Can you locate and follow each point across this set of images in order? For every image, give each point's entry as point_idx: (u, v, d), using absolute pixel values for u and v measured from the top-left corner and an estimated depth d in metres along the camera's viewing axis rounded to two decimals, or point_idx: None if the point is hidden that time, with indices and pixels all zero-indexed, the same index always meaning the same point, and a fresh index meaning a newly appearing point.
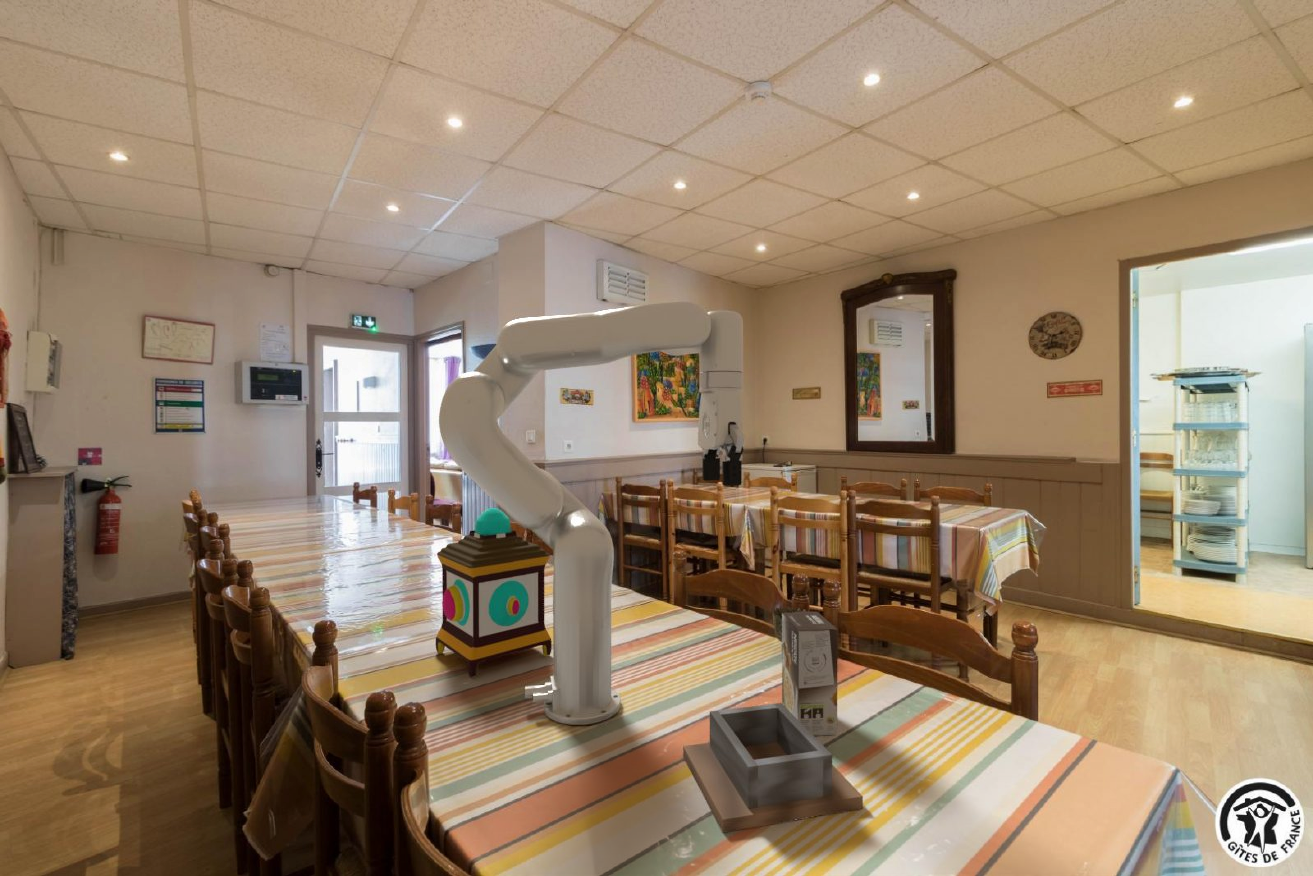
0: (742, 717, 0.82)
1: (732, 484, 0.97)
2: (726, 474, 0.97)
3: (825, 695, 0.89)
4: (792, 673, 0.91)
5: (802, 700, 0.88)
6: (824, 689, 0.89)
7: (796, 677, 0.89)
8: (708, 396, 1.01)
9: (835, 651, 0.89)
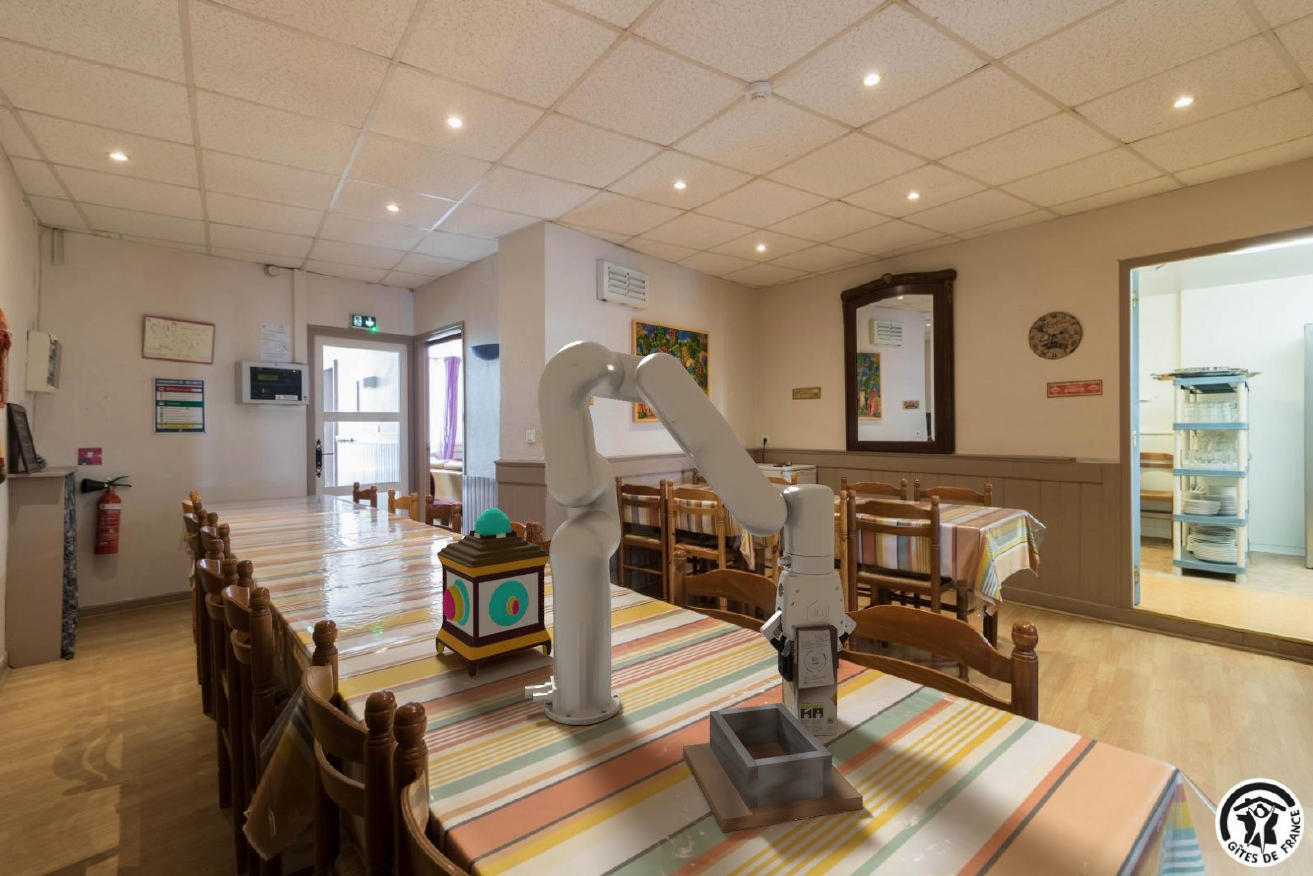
0: (742, 717, 0.82)
1: None
2: None
3: (825, 695, 0.89)
4: None
5: (802, 700, 0.88)
6: (824, 688, 0.89)
7: (797, 677, 0.89)
8: (822, 581, 0.90)
9: (835, 651, 0.89)
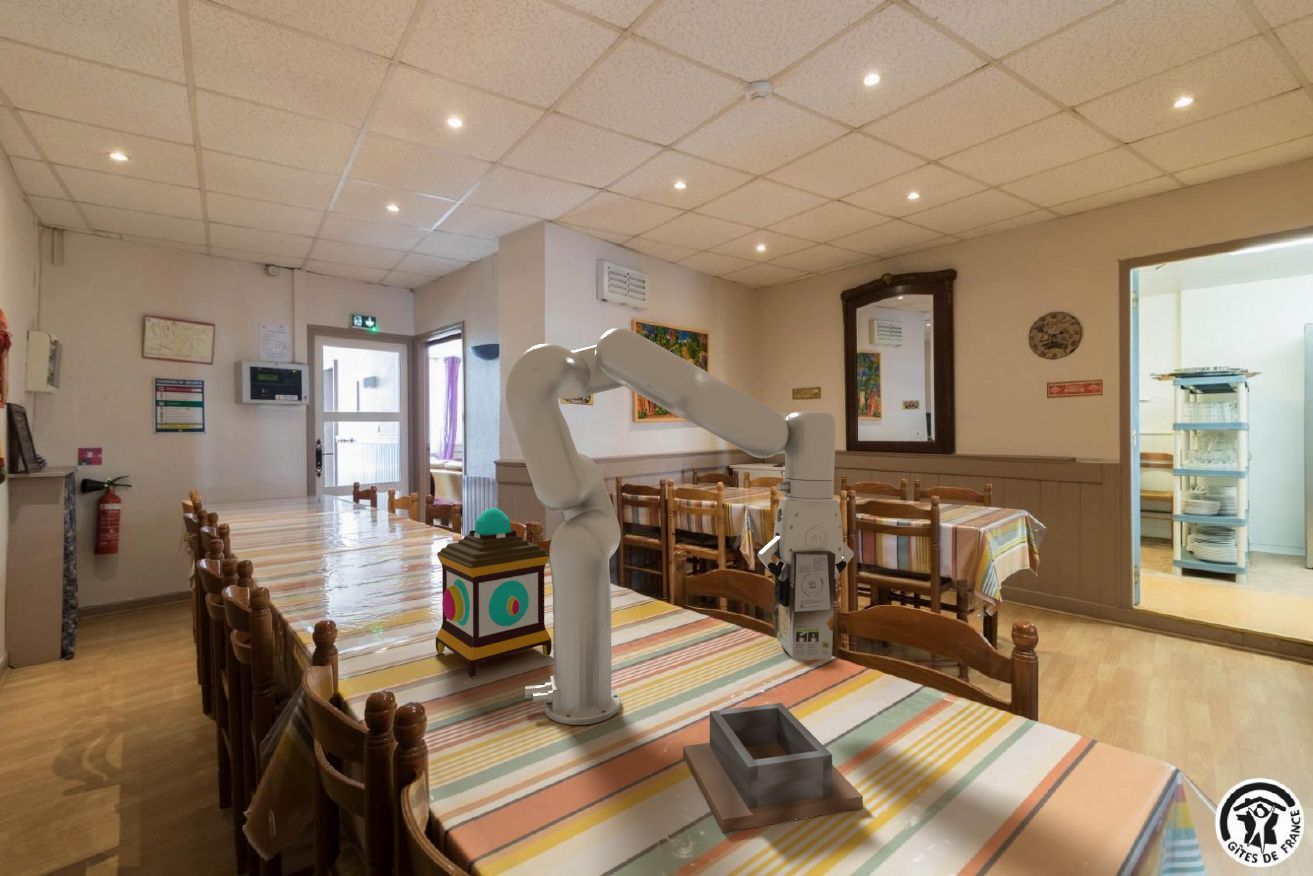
0: (742, 717, 0.82)
1: None
2: None
3: (821, 619, 0.88)
4: None
5: (798, 623, 0.88)
6: (820, 613, 0.88)
7: (793, 600, 0.89)
8: (821, 507, 0.90)
9: (832, 576, 0.89)
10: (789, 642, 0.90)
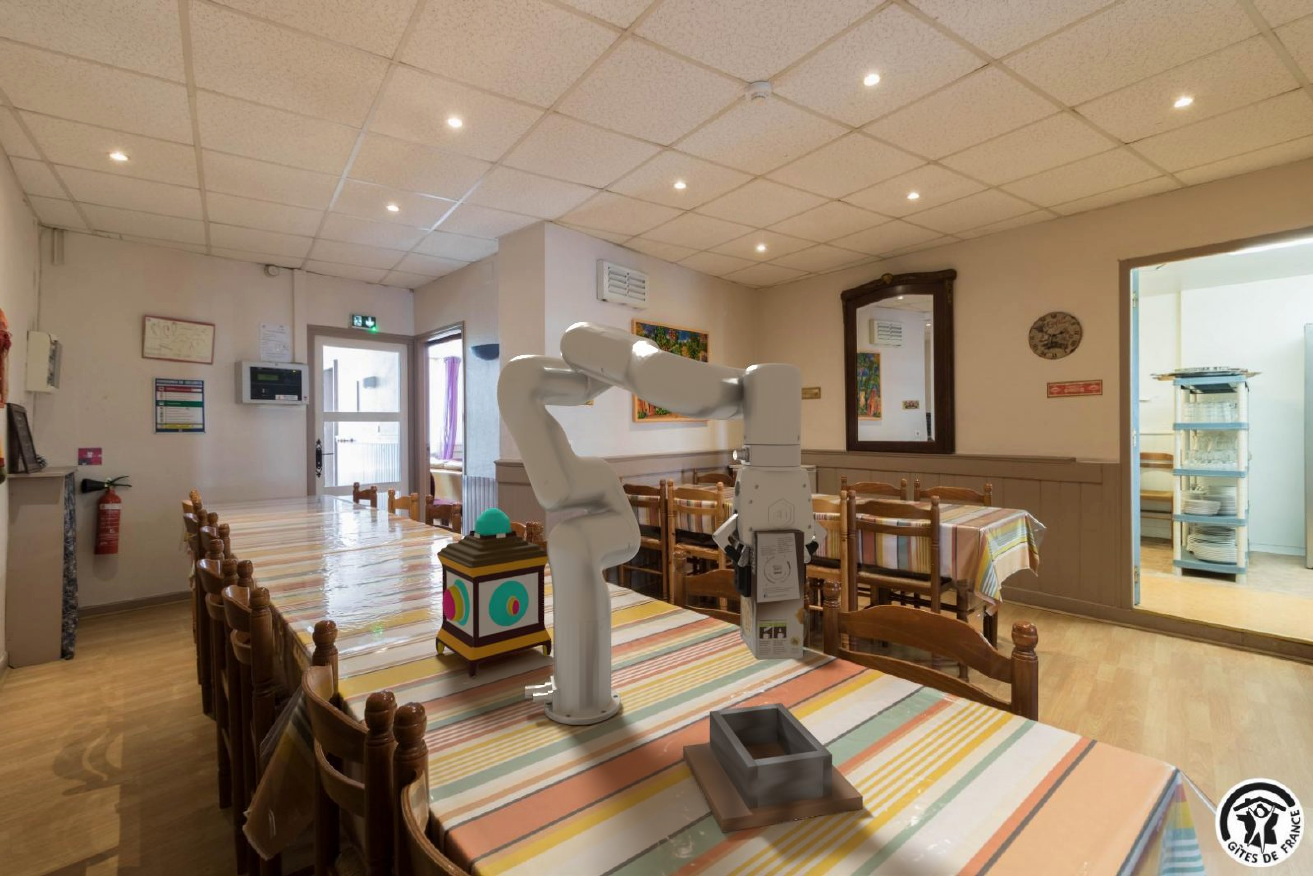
0: (742, 717, 0.82)
1: None
2: None
3: (789, 611, 0.74)
4: None
5: (762, 616, 0.73)
6: (787, 603, 0.74)
7: (755, 589, 0.74)
8: (786, 476, 0.75)
9: (801, 558, 0.74)
10: (752, 640, 0.75)
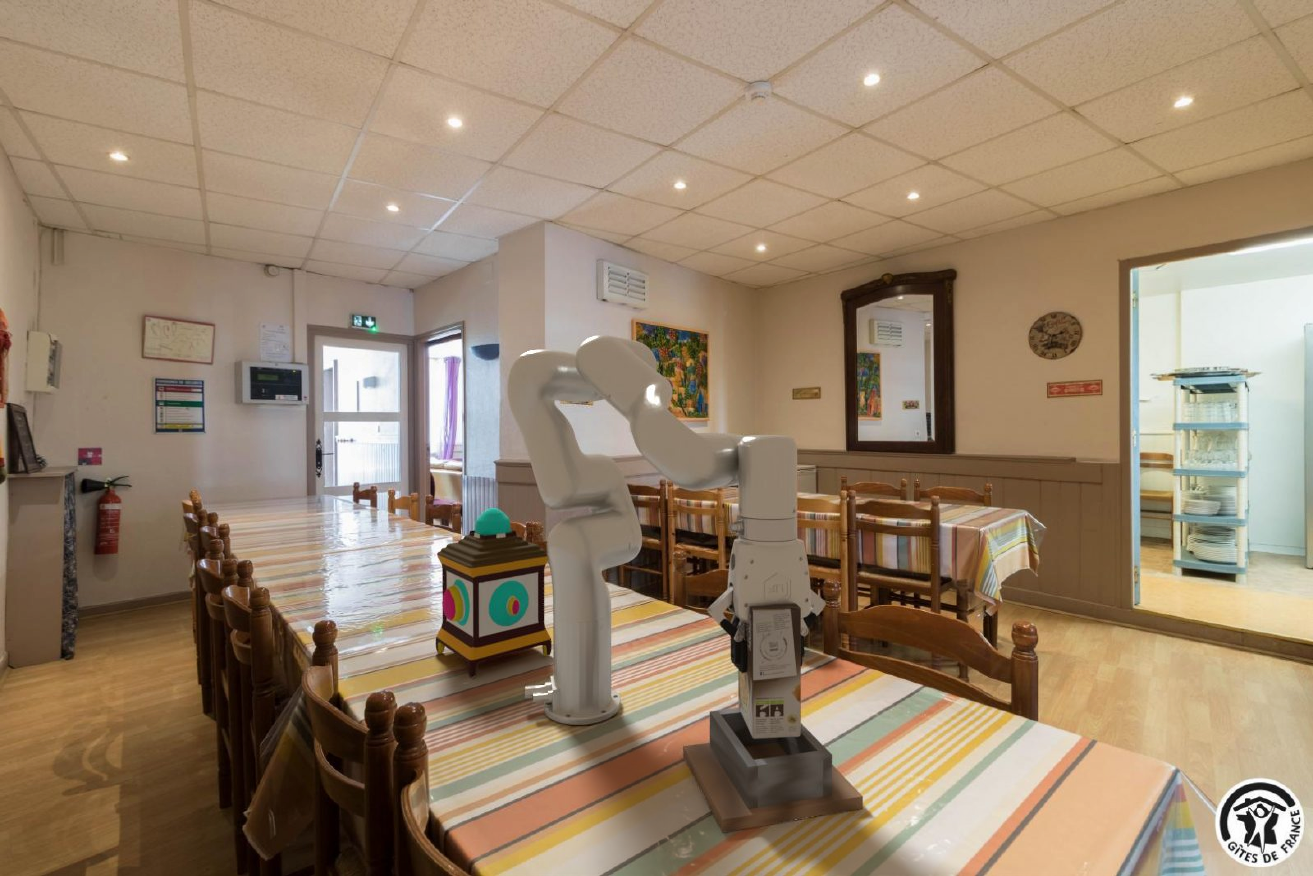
0: (742, 717, 0.82)
1: None
2: None
3: (786, 689, 0.73)
4: None
5: (758, 694, 0.72)
6: (784, 680, 0.73)
7: (751, 666, 0.73)
8: (782, 550, 0.74)
9: (798, 634, 0.73)
10: (748, 716, 0.74)
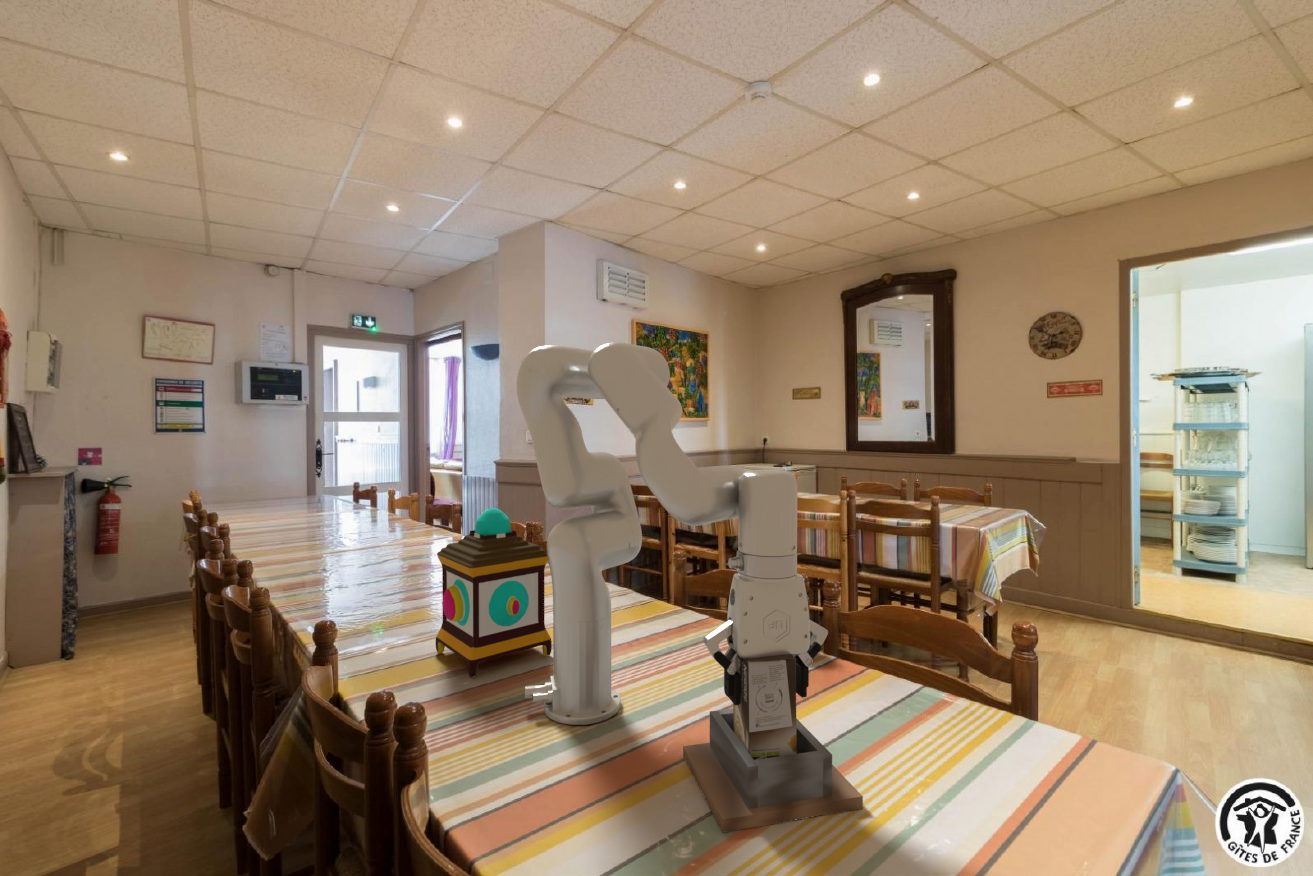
0: None
1: None
2: None
3: (782, 740, 0.73)
4: (742, 712, 0.75)
5: (754, 746, 0.72)
6: (780, 731, 0.73)
7: (747, 718, 0.73)
8: (782, 587, 0.74)
9: (793, 685, 0.73)
10: None
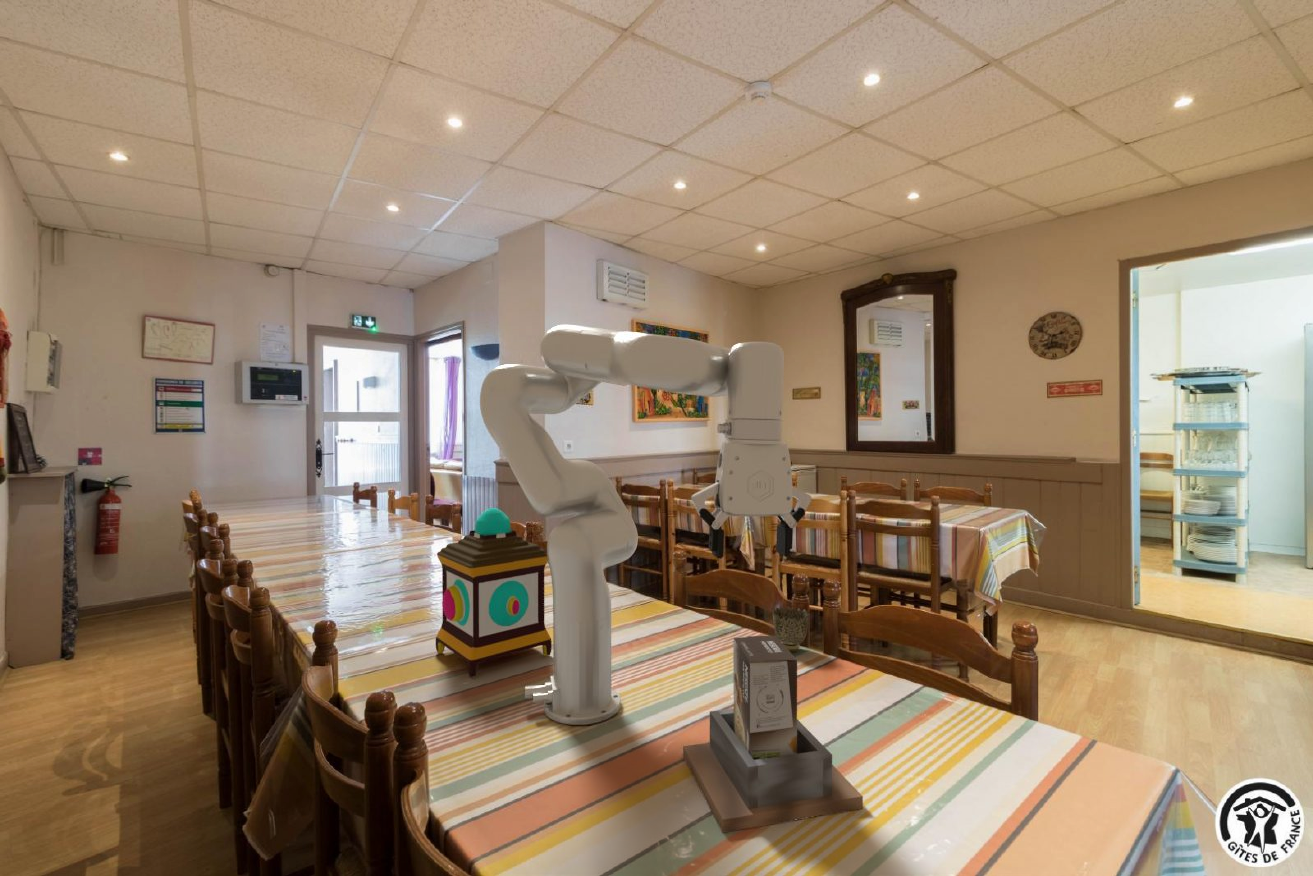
0: None
1: None
2: None
3: (782, 741, 0.73)
4: (743, 712, 0.75)
5: (755, 747, 0.72)
6: (781, 732, 0.73)
7: (748, 719, 0.73)
8: (766, 450, 0.79)
9: (794, 686, 0.73)
10: None
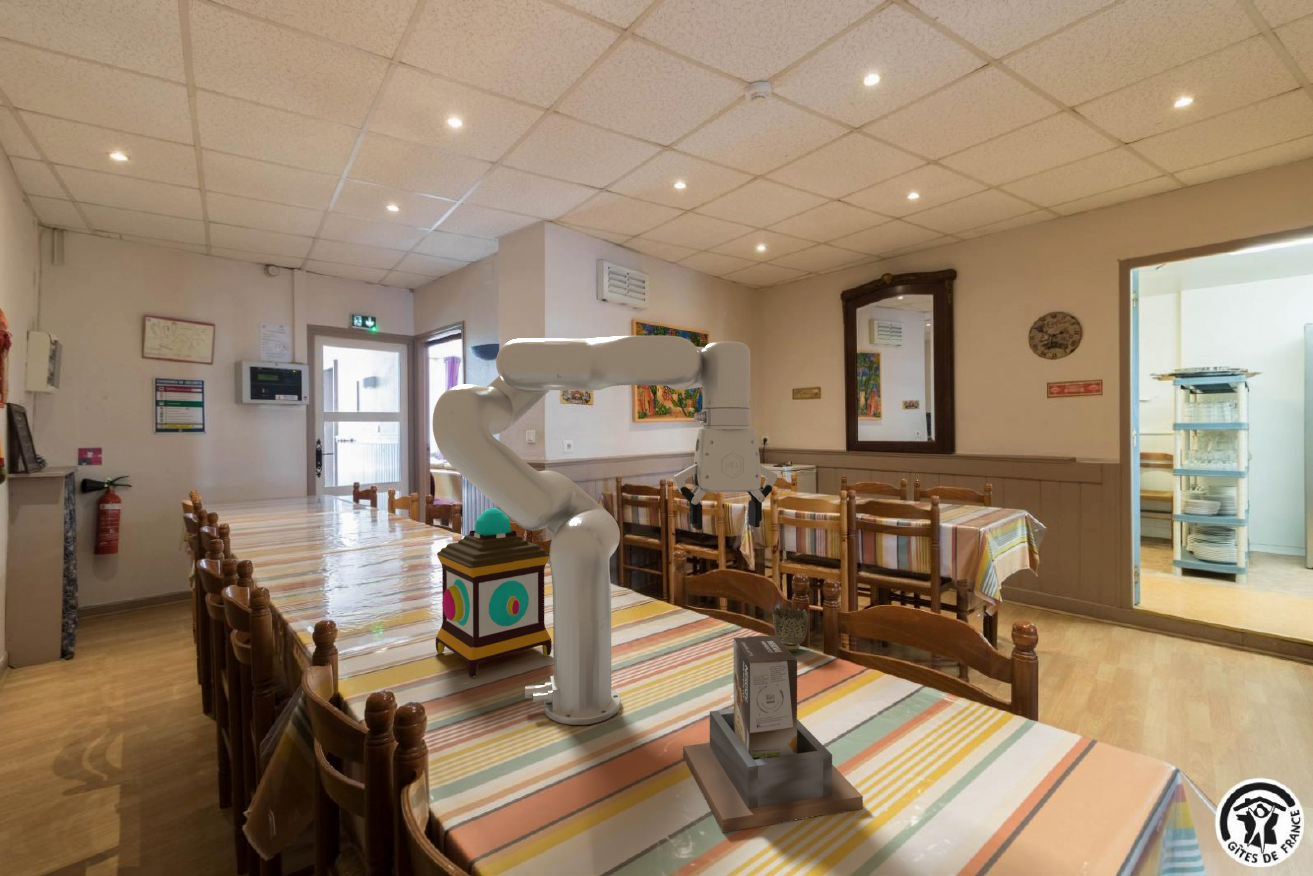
0: None
1: None
2: None
3: (782, 741, 0.73)
4: (743, 712, 0.75)
5: (755, 747, 0.72)
6: (780, 732, 0.73)
7: (748, 718, 0.73)
8: (737, 434, 0.92)
9: (794, 686, 0.73)
10: None
